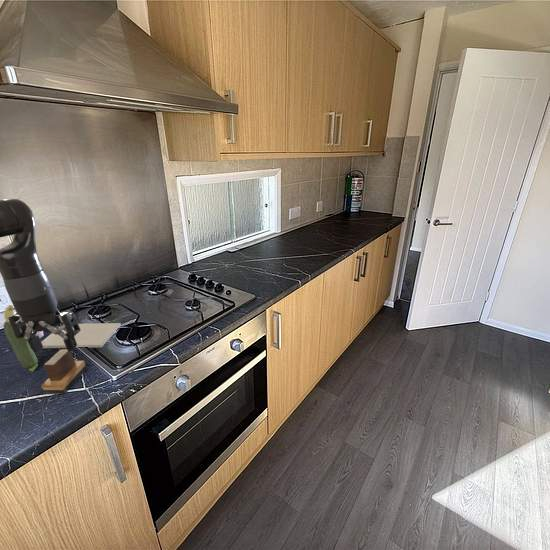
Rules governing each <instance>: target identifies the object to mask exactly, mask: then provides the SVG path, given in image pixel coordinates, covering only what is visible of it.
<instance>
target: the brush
mask: <svg viewBox="0 0 550 550" xmlns="http://www.w3.org/2000/svg"><path fill="white" fill-rule="evenodd" d="M43 367H44V369H45V372H46V373H47V376H48V378H47V379H46V380H45V381H44V382H43V383H42V384H41V389H42V391H45V393H46V395H66V394H67V393H68V391H69V390H70V389H71V388H72V387H73V385H74V384H75V383H76V382H77V381H78V380H79V379H80V377H81V376H82V375H83V374H84V373H85V372H86V371H87V368H86V362H85V360H75V358H74V355H73V353H72V351H71V352H68V351H67V348H60V349H59V350H58V351H57V352H56V353H55V354H53V356H52V357H50V359H48V360H47V361H46V362H45V363H44V364H43Z"/></svg>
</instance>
